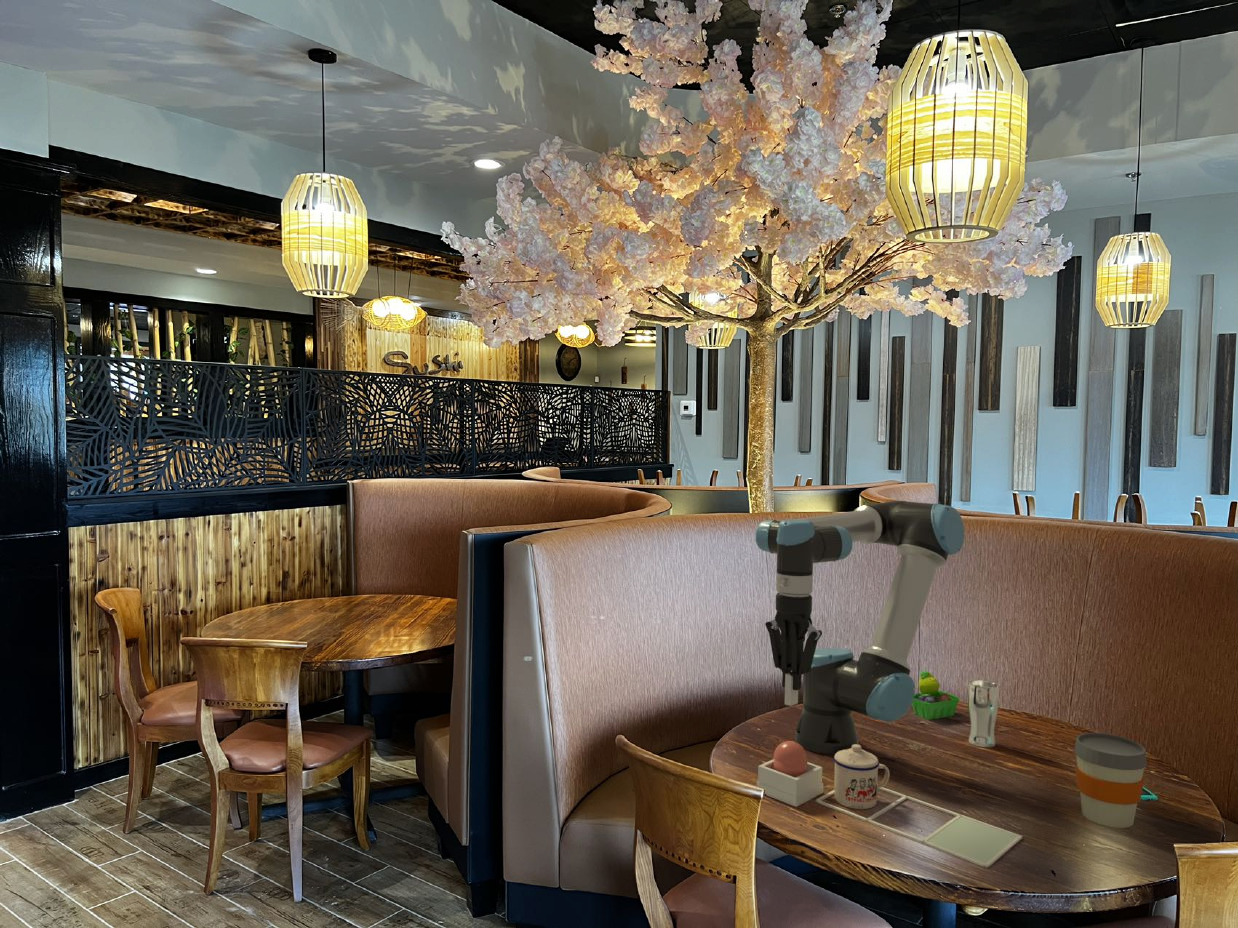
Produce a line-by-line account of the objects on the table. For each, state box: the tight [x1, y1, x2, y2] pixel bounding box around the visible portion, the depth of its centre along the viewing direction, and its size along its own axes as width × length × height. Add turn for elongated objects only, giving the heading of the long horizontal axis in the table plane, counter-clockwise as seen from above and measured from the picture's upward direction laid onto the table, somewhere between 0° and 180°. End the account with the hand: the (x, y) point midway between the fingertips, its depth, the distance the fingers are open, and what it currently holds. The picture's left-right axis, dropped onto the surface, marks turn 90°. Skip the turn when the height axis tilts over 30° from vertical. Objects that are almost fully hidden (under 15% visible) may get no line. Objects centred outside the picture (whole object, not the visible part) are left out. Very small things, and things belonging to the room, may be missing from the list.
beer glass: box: [967, 679, 1000, 749], centre depth 207 cm, size 7×7×15 cm
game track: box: [814, 786, 1023, 869], centre depth 166 cm, size 35×16×1 cm, turn 44°
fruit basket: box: [911, 670, 961, 721], centre depth 228 cm, size 11×9×11 cm
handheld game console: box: [1141, 786, 1158, 801], centre depth 184 cm, size 10×16×1 cm, turn 179°
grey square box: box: [756, 758, 824, 808], centre depth 178 cm, size 10×10×6 cm
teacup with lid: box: [833, 744, 890, 810], centre depth 174 cm, size 12×9×12 cm
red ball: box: [773, 740, 808, 778], centre depth 178 cm, size 7×7×7 cm
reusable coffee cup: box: [1073, 732, 1148, 829], centre depth 168 cm, size 13×13×15 cm
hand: (791, 703), depth 177 cm, fingers closed
